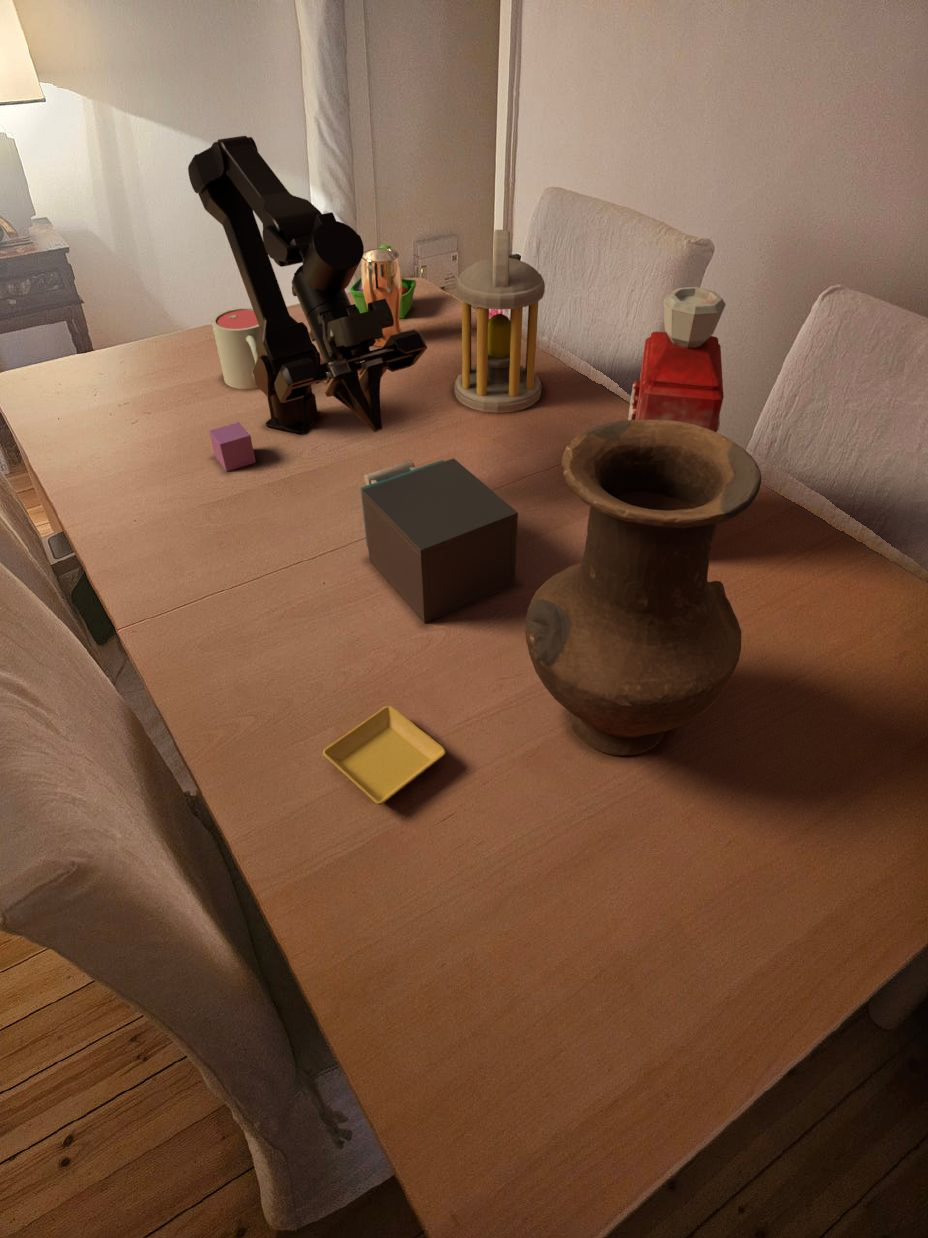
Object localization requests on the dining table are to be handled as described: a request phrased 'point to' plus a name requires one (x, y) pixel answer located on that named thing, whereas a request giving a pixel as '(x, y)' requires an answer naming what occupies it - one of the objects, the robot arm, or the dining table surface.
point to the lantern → (499, 331)
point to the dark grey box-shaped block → (440, 538)
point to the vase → (642, 583)
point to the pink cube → (232, 446)
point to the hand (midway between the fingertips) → (378, 430)
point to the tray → (390, 476)
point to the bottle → (683, 363)
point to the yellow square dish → (384, 754)
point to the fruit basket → (406, 295)
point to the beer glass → (383, 284)
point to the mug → (237, 345)
